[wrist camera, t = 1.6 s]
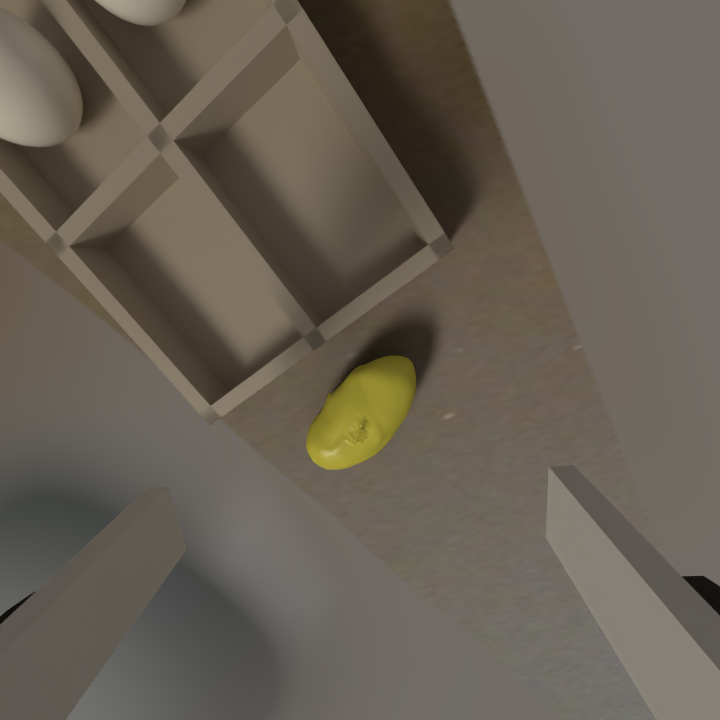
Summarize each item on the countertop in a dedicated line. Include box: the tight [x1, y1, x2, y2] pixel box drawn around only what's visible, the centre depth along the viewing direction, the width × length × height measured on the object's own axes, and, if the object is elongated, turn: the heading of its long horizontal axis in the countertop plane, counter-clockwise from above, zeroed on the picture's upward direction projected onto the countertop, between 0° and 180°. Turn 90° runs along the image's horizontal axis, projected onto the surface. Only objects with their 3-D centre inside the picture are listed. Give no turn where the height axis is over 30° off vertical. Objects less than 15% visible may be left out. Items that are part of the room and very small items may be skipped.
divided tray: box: [0, 0, 455, 425], centre depth 15 cm, size 22×15×3 cm
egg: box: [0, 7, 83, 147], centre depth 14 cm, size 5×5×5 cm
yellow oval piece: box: [306, 355, 416, 470], centre depth 18 cm, size 4×8×4 cm, turn 137°
